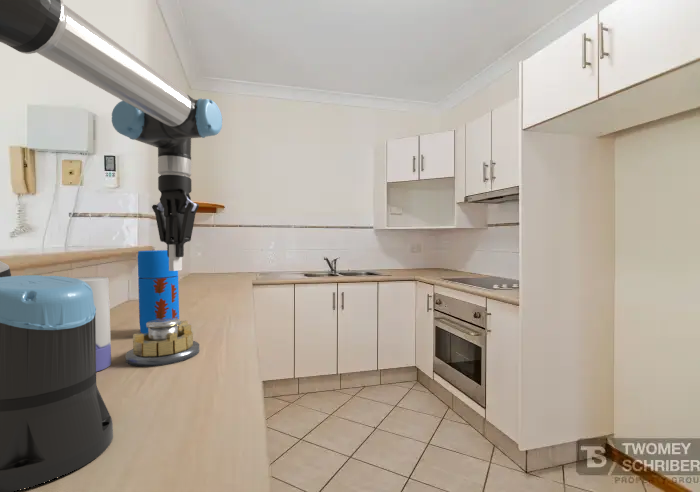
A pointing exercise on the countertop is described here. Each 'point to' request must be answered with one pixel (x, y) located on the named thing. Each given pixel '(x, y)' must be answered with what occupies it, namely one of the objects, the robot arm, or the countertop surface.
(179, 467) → the countertop surface
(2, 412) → the robot arm
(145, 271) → the thermos
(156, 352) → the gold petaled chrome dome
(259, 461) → the countertop surface
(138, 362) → the base
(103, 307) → the container
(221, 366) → the countertop surface
